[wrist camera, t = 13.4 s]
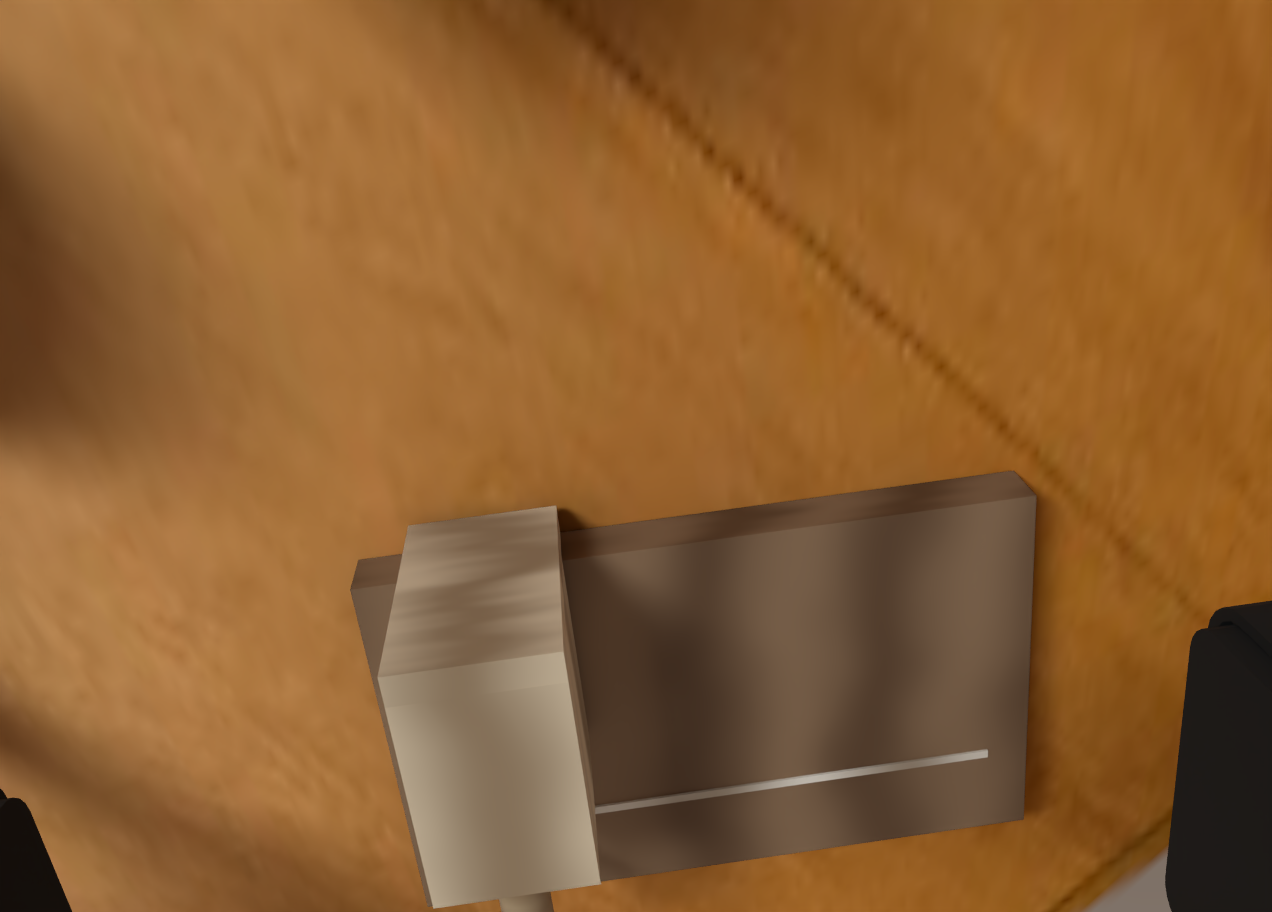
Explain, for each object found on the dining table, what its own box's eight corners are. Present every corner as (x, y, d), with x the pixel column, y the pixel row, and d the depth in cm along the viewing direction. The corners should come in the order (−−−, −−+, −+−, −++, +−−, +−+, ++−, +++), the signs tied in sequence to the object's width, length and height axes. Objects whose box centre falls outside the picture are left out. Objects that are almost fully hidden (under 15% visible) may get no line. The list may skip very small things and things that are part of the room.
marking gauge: (555, 505, 39) (563, 651, 31) (601, 801, 44) (618, 991, 36) (408, 525, 39) (377, 677, 31) (471, 820, 44) (459, 1015, 36)
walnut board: (1013, 470, 41) (1037, 497, 39) (1004, 784, 46) (1024, 821, 44) (358, 560, 40) (349, 591, 38) (431, 868, 46) (427, 908, 44)
